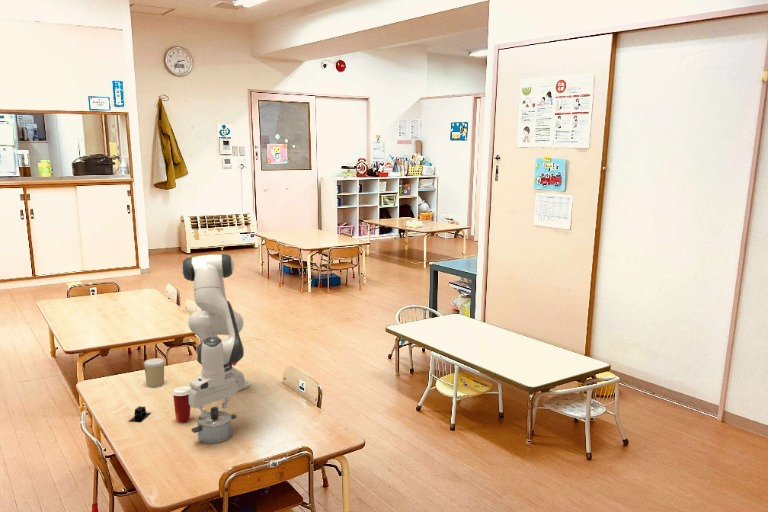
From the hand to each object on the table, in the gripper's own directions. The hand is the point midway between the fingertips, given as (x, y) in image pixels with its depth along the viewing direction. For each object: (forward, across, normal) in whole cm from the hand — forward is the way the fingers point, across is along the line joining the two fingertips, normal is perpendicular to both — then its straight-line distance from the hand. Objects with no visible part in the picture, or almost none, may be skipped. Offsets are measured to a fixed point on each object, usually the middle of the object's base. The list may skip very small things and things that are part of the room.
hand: (214, 411), depth 237 cm
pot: (+11, 0, 0) cm, 11 cm away
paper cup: (+11, +2, -22) cm, 25 cm away
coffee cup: (+11, -8, -67) cm, 68 cm away
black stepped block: (+11, +13, -38) cm, 41 cm away
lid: (+4, 0, 0) cm, 4 cm away
